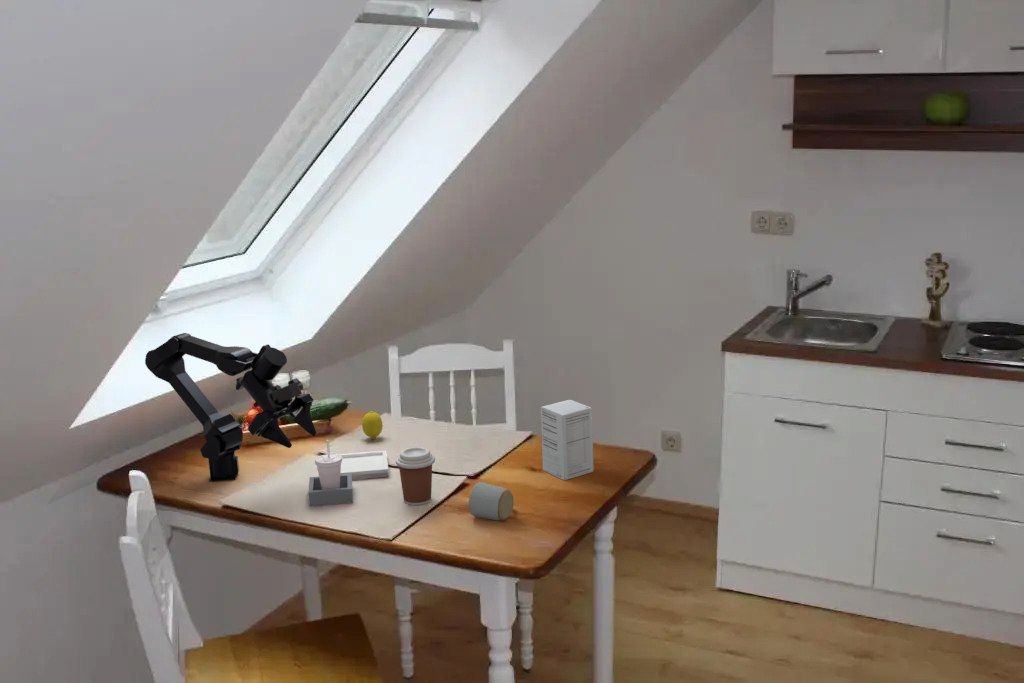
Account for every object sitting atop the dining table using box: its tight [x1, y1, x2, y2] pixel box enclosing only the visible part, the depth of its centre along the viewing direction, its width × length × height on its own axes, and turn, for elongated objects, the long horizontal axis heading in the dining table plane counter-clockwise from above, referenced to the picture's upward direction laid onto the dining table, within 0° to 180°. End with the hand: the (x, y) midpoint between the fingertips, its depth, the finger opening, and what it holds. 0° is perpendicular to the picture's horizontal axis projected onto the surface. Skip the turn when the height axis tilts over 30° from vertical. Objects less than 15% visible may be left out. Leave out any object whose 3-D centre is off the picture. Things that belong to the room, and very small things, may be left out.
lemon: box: [361, 410, 383, 440], centre depth 290 cm, size 6×6×8 cm
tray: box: [337, 449, 390, 481], centre depth 268 cm, size 14×14×2 cm
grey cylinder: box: [468, 481, 515, 521], centre depth 236 cm, size 11×8×8 cm
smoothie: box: [314, 439, 342, 490], centre depth 249 cm, size 6×6×14 cm
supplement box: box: [540, 399, 594, 481], centre depth 260 cm, size 10×9×17 cm
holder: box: [307, 474, 354, 508], centre depth 250 cm, size 10×10×4 cm
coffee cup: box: [395, 446, 436, 507], centre depth 246 cm, size 9×9×12 cm
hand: (303, 440), depth 251 cm, fingers open, 9 cm apart
